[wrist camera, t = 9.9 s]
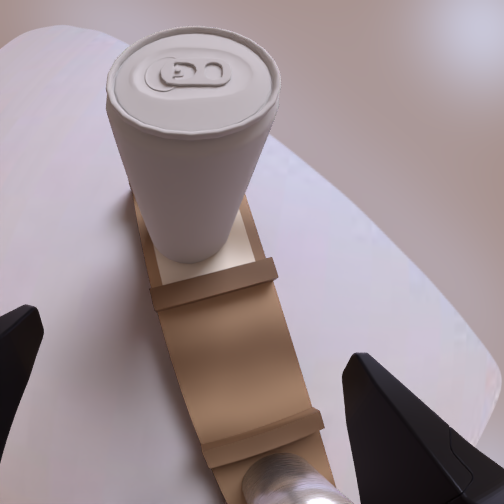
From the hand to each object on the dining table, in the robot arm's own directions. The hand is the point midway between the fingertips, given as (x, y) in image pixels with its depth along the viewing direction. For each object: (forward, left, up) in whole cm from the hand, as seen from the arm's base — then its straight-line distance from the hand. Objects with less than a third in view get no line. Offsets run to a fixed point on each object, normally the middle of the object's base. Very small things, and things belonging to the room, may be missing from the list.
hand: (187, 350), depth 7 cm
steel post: (+2, -11, -9) cm, 14 cm away
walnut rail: (+2, -2, -11) cm, 11 cm away
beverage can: (+2, +6, -9) cm, 12 cm away
